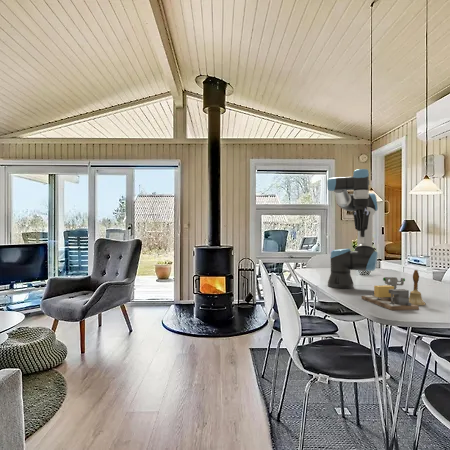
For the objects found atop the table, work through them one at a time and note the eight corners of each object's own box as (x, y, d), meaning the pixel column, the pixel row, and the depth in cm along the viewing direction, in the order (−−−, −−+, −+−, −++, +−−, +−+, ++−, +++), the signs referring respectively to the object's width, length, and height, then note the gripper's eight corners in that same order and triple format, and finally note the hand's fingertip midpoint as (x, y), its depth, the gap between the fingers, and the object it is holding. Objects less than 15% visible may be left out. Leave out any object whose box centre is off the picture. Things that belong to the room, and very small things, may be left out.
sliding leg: (374, 297, 159) (374, 285, 159) (389, 296, 160) (389, 285, 160) (378, 298, 155) (378, 286, 156) (394, 298, 156) (393, 286, 157)
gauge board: (361, 298, 167) (361, 283, 167) (385, 298, 168) (385, 282, 168) (391, 310, 143) (391, 291, 143) (418, 309, 144) (418, 291, 145)
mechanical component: (405, 297, 170) (405, 278, 170) (384, 296, 172) (384, 277, 172) (403, 296, 173) (403, 277, 173) (382, 295, 175) (382, 276, 175)
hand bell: (419, 301, 160) (419, 269, 160) (429, 305, 152) (429, 271, 152) (402, 301, 160) (402, 269, 161) (411, 305, 152) (411, 271, 152)
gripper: (348, 199, 179) (348, 242, 179) (361, 197, 166) (361, 243, 166) (360, 199, 180) (360, 242, 180) (374, 197, 167) (375, 243, 167)
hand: (361, 243), depth 173 cm, fingers closed
